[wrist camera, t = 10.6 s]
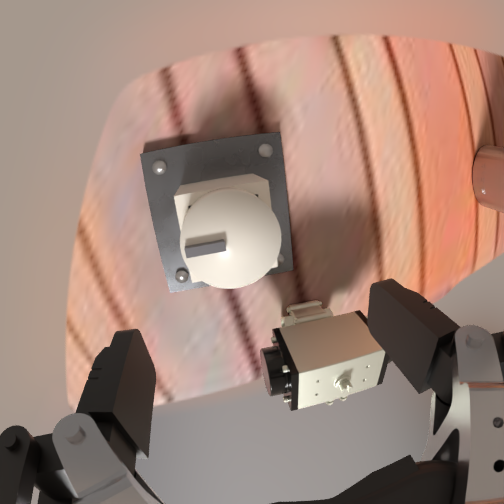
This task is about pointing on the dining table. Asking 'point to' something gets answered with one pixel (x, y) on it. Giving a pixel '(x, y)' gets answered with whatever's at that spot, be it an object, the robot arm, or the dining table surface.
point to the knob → (228, 230)
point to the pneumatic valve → (321, 356)
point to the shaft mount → (208, 168)
